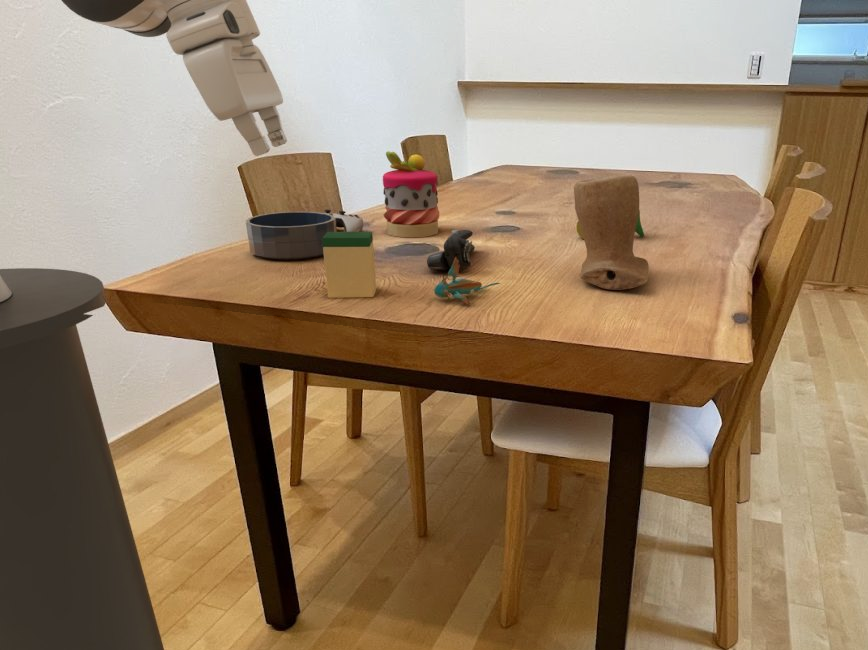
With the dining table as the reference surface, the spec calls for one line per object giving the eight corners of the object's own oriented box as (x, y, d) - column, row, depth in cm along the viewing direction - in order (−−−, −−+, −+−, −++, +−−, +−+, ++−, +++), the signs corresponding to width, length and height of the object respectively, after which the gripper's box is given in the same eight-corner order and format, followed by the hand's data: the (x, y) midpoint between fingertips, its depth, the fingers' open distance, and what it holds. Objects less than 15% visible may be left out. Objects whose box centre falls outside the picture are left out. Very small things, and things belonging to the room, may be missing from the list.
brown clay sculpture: (575, 264, 107) (581, 167, 101) (650, 269, 104) (660, 170, 98) (560, 289, 93) (564, 179, 87) (645, 296, 91) (656, 183, 85)
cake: (418, 224, 135) (415, 147, 129) (450, 232, 128) (449, 151, 122) (374, 231, 129) (369, 150, 123) (406, 240, 122) (401, 154, 116)
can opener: (467, 277, 99) (467, 240, 96) (422, 275, 99) (421, 237, 97) (489, 251, 115) (489, 218, 112) (450, 249, 115) (450, 216, 113)
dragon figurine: (447, 277, 94) (424, 267, 87) (494, 260, 92) (474, 249, 85) (458, 321, 94) (436, 315, 86) (506, 305, 92) (487, 298, 84)
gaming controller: (297, 229, 124) (310, 198, 126) (314, 248, 129) (325, 218, 131) (350, 234, 120) (362, 202, 123) (364, 253, 126) (375, 222, 128)
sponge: (328, 297, 88) (321, 237, 85) (332, 289, 92) (327, 231, 89) (373, 297, 89) (369, 237, 85) (376, 289, 92) (372, 231, 89)
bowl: (252, 264, 104) (247, 229, 101) (249, 245, 116) (244, 214, 113) (344, 257, 109) (341, 224, 106) (331, 240, 121) (328, 209, 118)
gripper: (220, 42, 86) (268, 148, 92) (159, 36, 68) (225, 169, 74) (264, 25, 86) (310, 133, 92) (215, 15, 68) (277, 150, 74)
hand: (272, 149), depth 83 cm, fingers open, 8 cm apart
